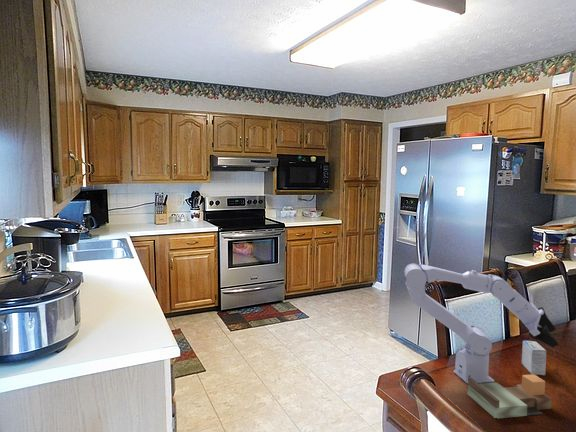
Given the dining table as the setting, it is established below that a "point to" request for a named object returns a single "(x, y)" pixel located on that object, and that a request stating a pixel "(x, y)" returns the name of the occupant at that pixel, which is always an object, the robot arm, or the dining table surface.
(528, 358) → the medicine box
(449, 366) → the dining table surface
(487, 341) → the robot arm
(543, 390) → the orange block
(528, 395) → the board
